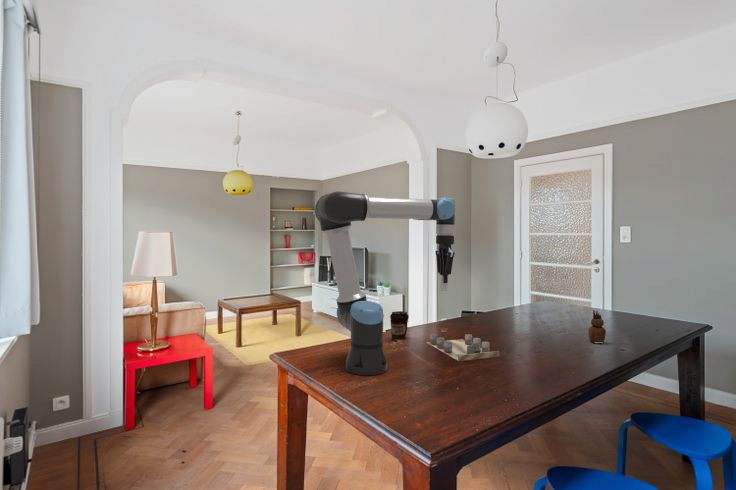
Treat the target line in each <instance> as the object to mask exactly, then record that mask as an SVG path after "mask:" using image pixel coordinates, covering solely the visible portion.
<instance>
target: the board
mask: <svg viewBox="0 0 736 490" xmlns="http://www.w3.org/2000/svg"><path fill="white" fill-rule="evenodd" d="M429 338H430V339H429V340H430V341H427V342H426V344H428V345H430V346H431V347H434V348H435V349H437V350H438V351H440V352H442V353H443V354H446V355H447V356H449V357H451V358H453V359H454V360H456V361H458V362H465V361H474V360H481V359H489V358H491V359H492V358H498V357H500V351H499V350H493V351H490V342H489V341H481V338H479V337H473V334H471V333H465V334H464V339H463V338H461V339H449V340H445V337H441V336H440V337H438V334H436V333H430V337H429ZM467 346H478V347H480V349H481V353H474V354H467Z"/></svg>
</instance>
